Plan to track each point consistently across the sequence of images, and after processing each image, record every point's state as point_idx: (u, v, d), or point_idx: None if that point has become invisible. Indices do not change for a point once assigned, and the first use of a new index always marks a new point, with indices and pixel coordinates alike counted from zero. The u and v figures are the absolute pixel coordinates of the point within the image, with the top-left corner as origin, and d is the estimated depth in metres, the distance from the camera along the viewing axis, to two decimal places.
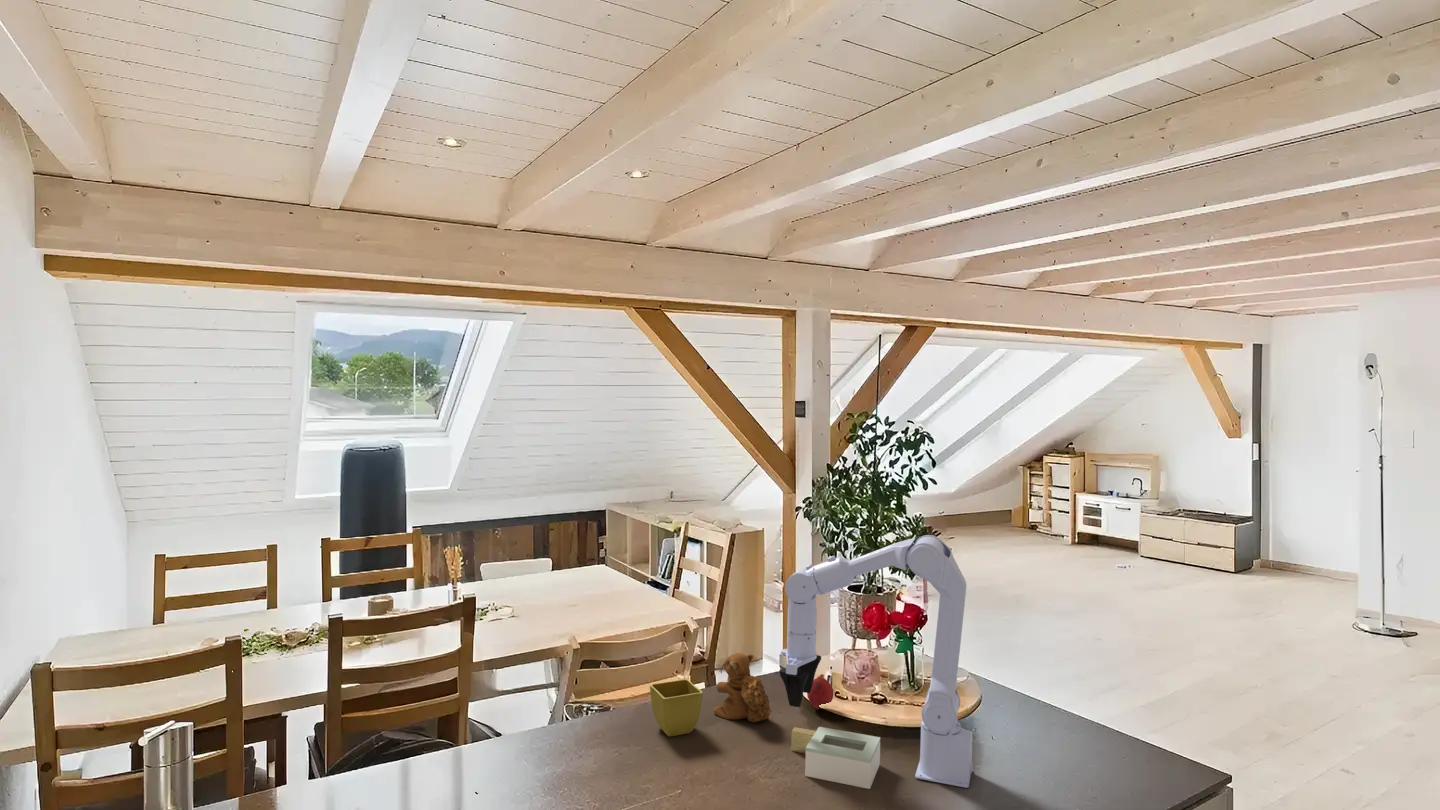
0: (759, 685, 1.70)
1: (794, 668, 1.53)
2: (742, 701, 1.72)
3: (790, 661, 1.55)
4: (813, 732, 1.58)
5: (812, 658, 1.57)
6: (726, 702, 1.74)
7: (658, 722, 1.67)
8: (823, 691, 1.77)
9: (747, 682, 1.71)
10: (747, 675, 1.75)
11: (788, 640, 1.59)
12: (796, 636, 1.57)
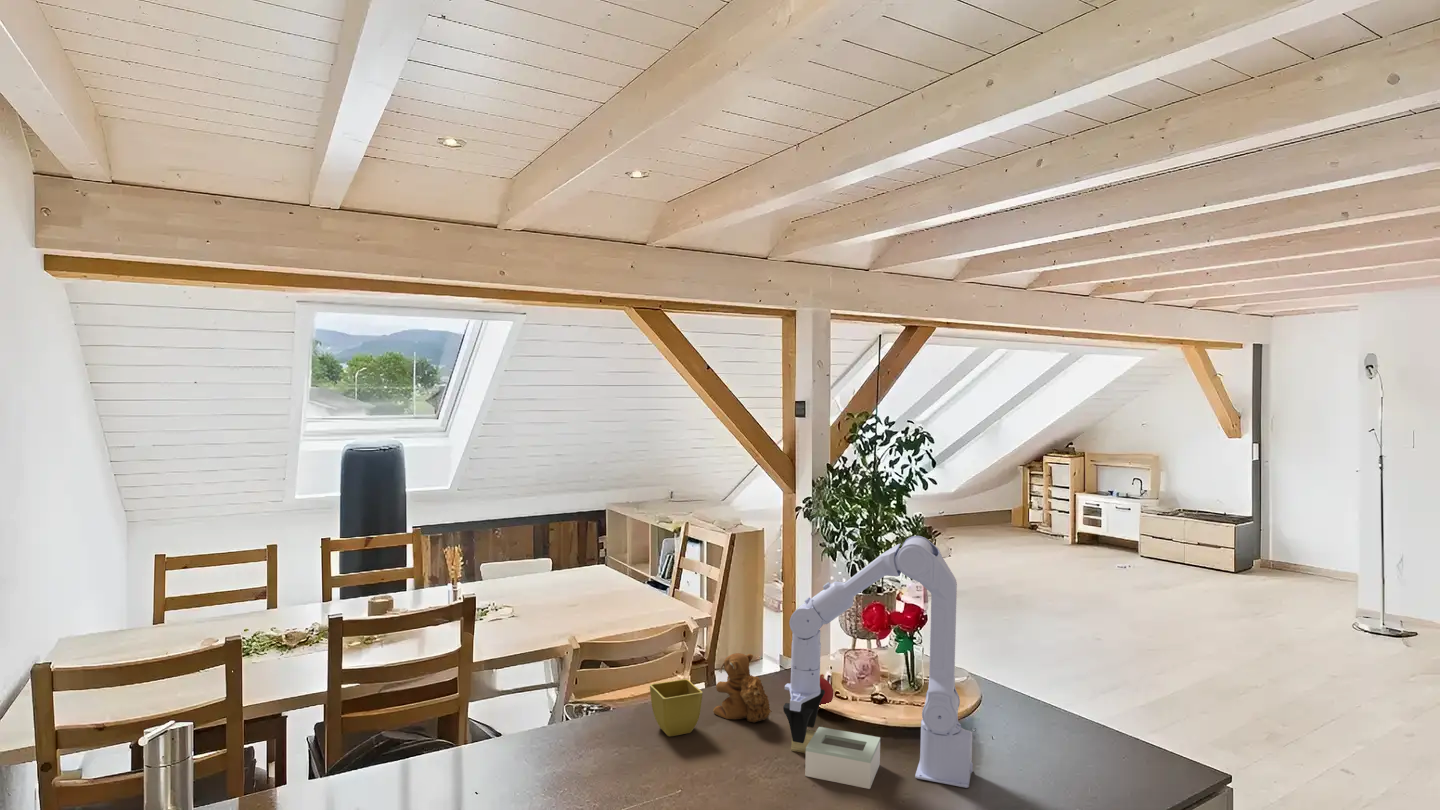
0: (758, 685, 1.70)
1: (798, 705, 1.52)
2: (742, 701, 1.72)
3: (794, 697, 1.55)
4: (813, 732, 1.58)
5: (816, 694, 1.56)
6: (726, 702, 1.75)
7: (658, 722, 1.67)
8: None
9: (747, 682, 1.71)
10: (747, 675, 1.75)
11: (791, 675, 1.58)
12: (800, 671, 1.56)
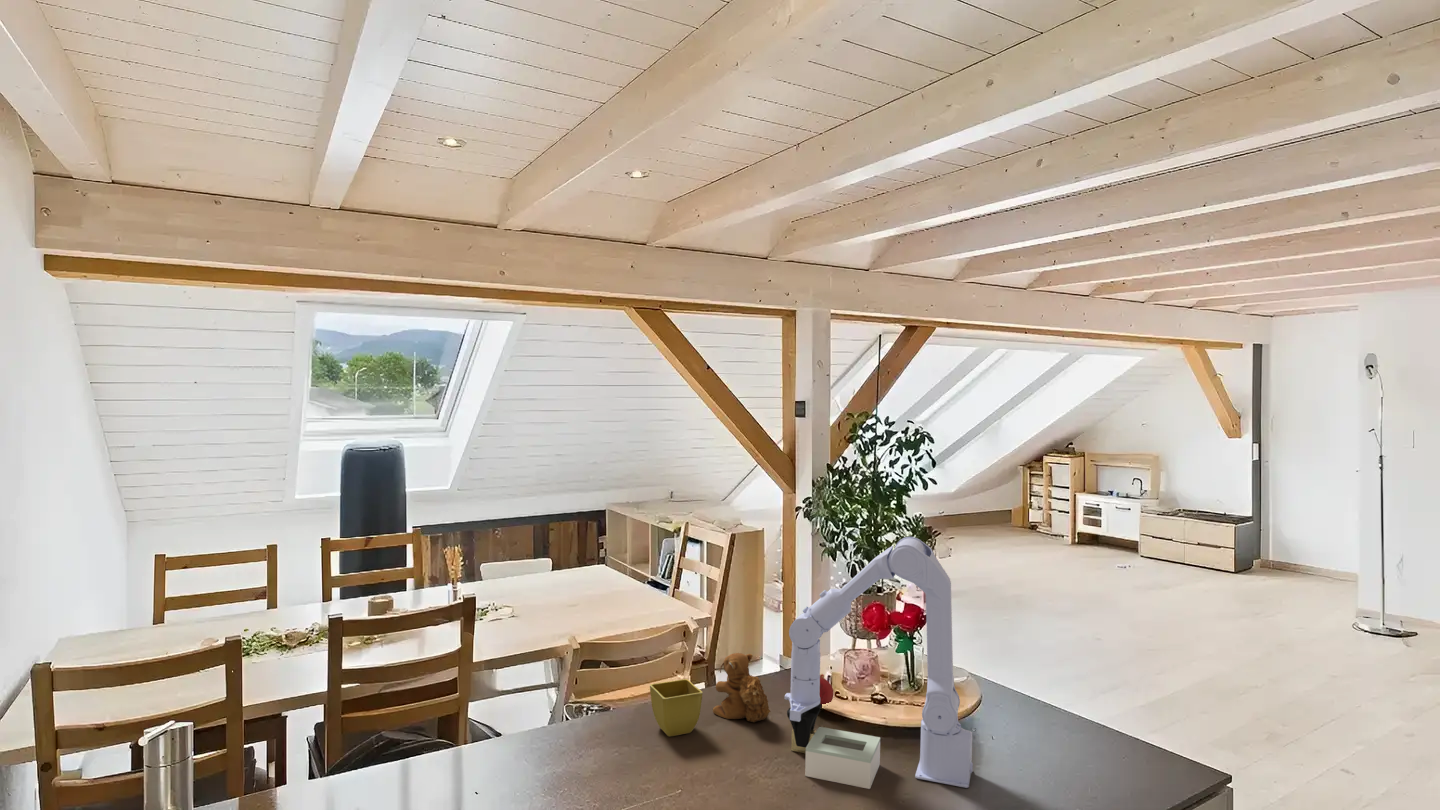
0: (758, 685, 1.70)
1: (798, 715, 1.52)
2: (741, 701, 1.73)
3: (794, 707, 1.55)
4: (813, 732, 1.58)
5: (816, 703, 1.56)
6: (725, 702, 1.75)
7: (658, 722, 1.67)
8: (823, 691, 1.77)
9: (746, 682, 1.71)
10: (746, 675, 1.75)
11: (791, 685, 1.58)
12: (800, 681, 1.56)
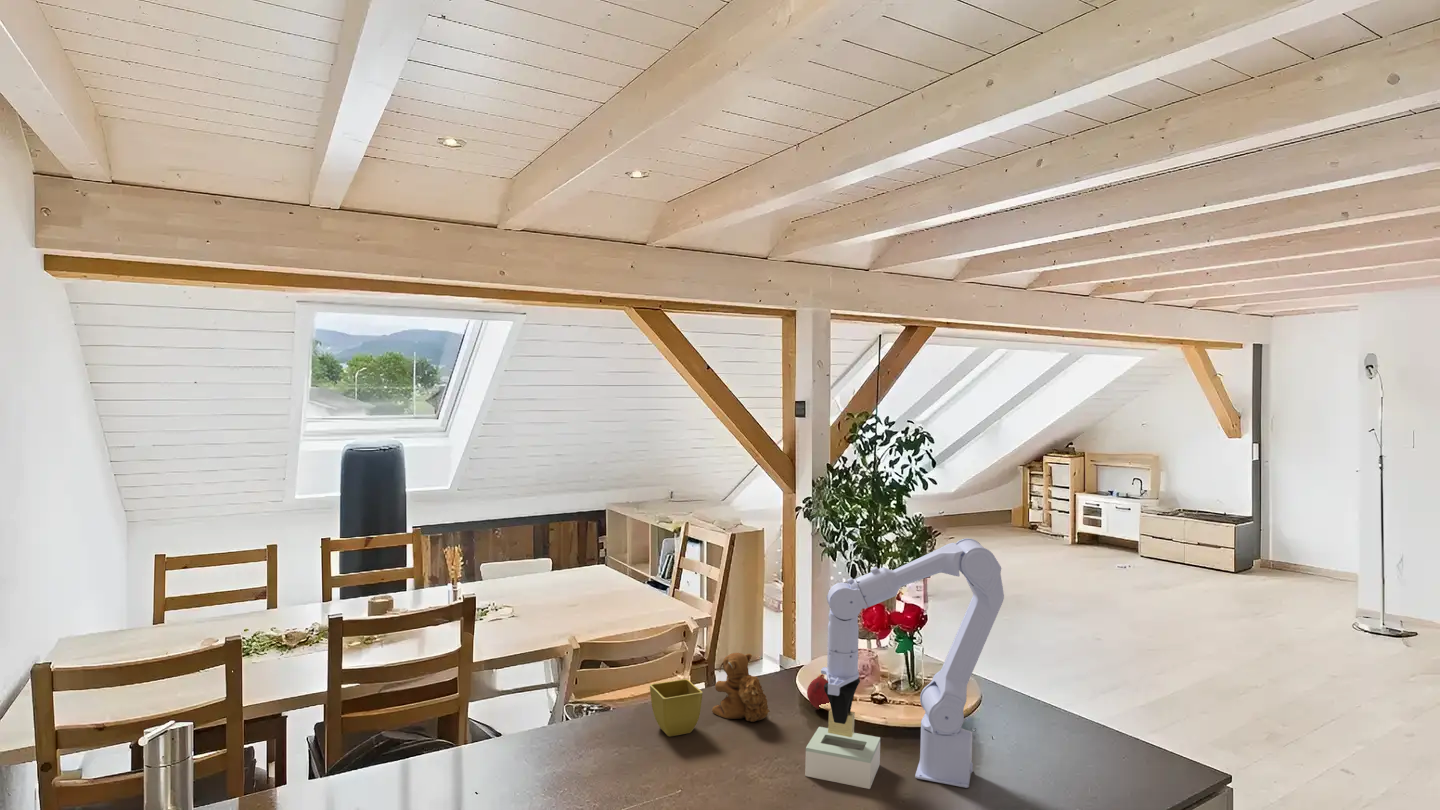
0: (756, 684, 1.70)
1: (836, 688, 1.44)
2: (740, 700, 1.73)
3: (832, 681, 1.47)
4: (851, 713, 1.51)
5: (854, 677, 1.49)
6: (724, 701, 1.75)
7: (658, 722, 1.67)
8: (823, 691, 1.77)
9: (745, 681, 1.71)
10: (745, 674, 1.75)
11: (828, 658, 1.51)
12: (837, 654, 1.49)
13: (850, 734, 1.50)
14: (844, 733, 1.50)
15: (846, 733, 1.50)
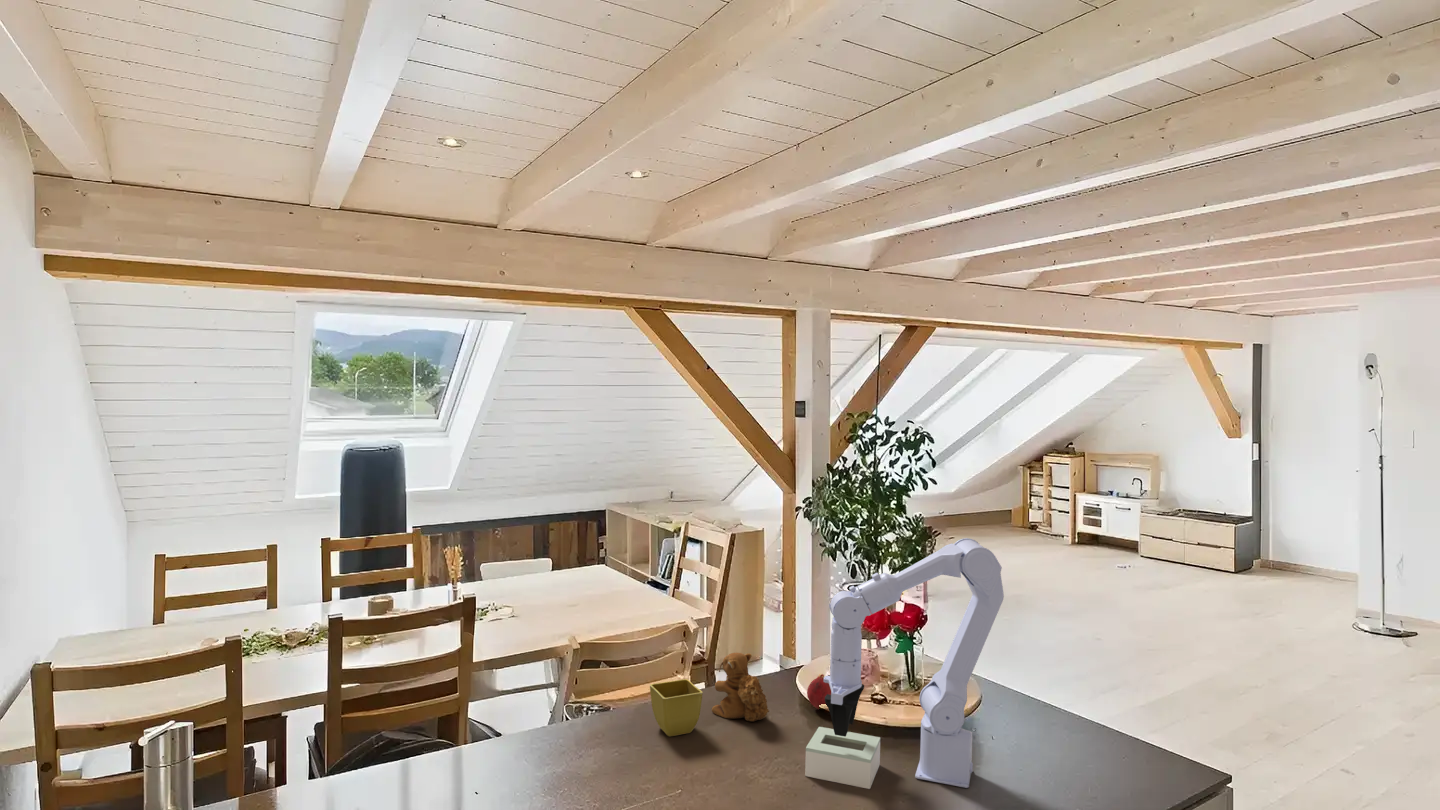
0: (756, 684, 1.70)
1: (840, 698, 1.44)
2: (739, 700, 1.73)
3: (835, 690, 1.47)
4: None
5: (857, 686, 1.48)
6: (724, 701, 1.75)
7: (658, 722, 1.67)
8: (823, 691, 1.77)
9: (744, 681, 1.72)
10: (745, 674, 1.75)
11: (831, 667, 1.50)
12: (841, 663, 1.48)
13: None
14: None
15: None
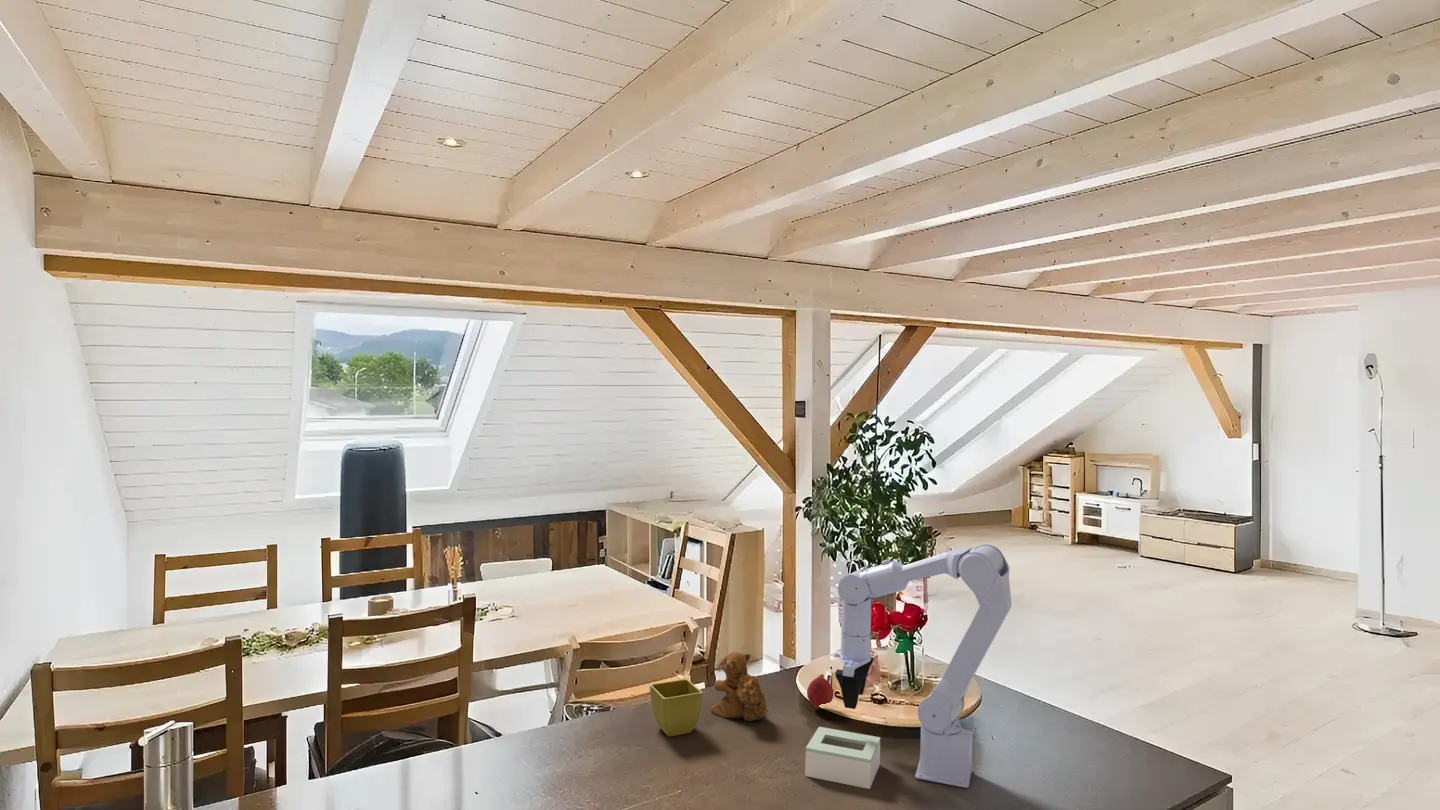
0: (755, 684, 1.70)
1: (851, 670, 1.52)
2: (738, 700, 1.73)
3: (846, 663, 1.55)
4: None
5: (867, 660, 1.57)
6: (723, 700, 1.75)
7: (658, 722, 1.67)
8: (823, 691, 1.77)
9: (743, 681, 1.72)
10: (744, 674, 1.75)
11: (842, 642, 1.58)
12: (851, 638, 1.57)
13: None
14: None
15: None
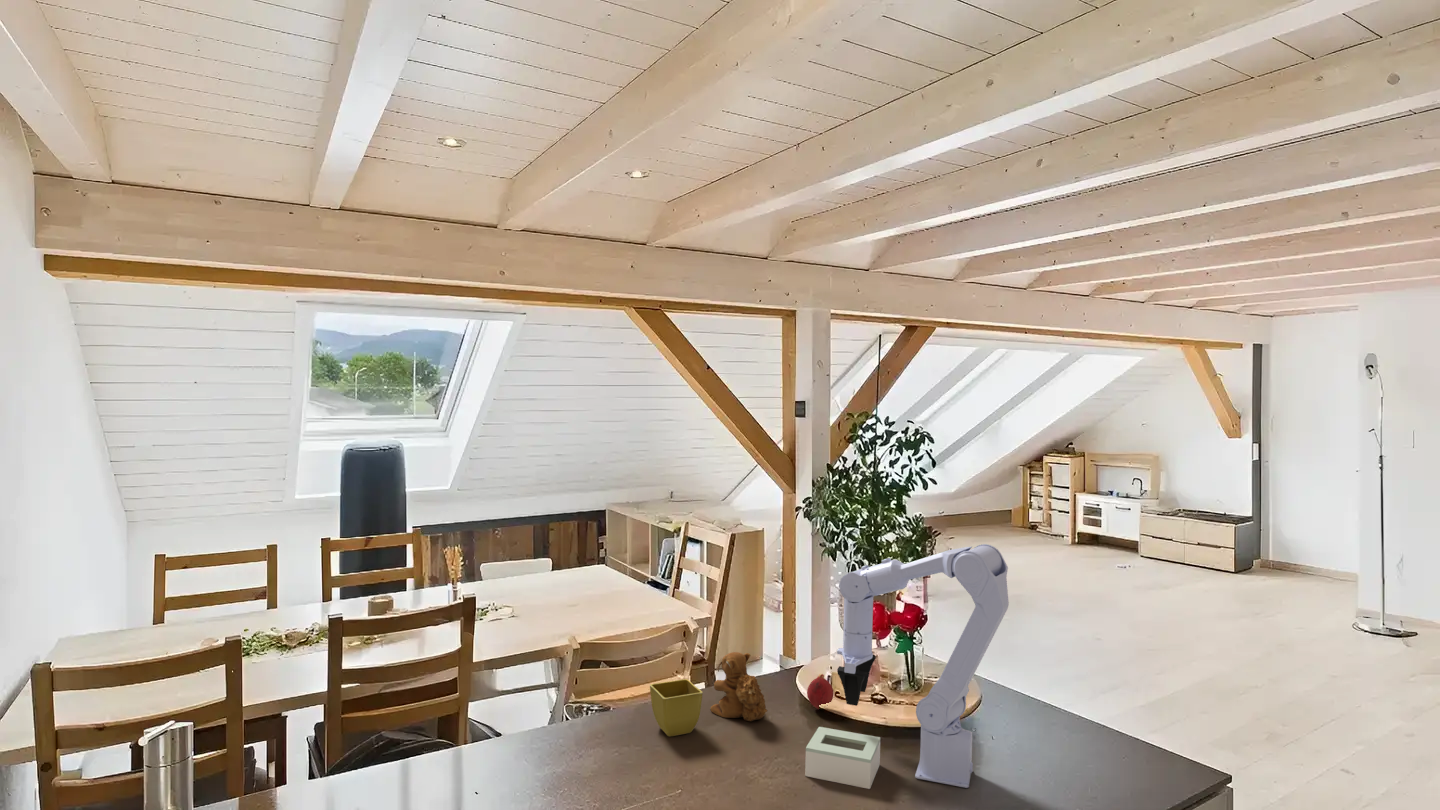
0: (754, 684, 1.70)
1: (853, 667, 1.54)
2: (738, 700, 1.73)
3: (848, 660, 1.57)
4: None
5: (869, 657, 1.59)
6: (722, 700, 1.75)
7: (658, 722, 1.67)
8: (823, 691, 1.77)
9: (742, 681, 1.72)
10: (743, 674, 1.75)
11: (844, 639, 1.60)
12: (853, 635, 1.58)
13: None
14: None
15: None
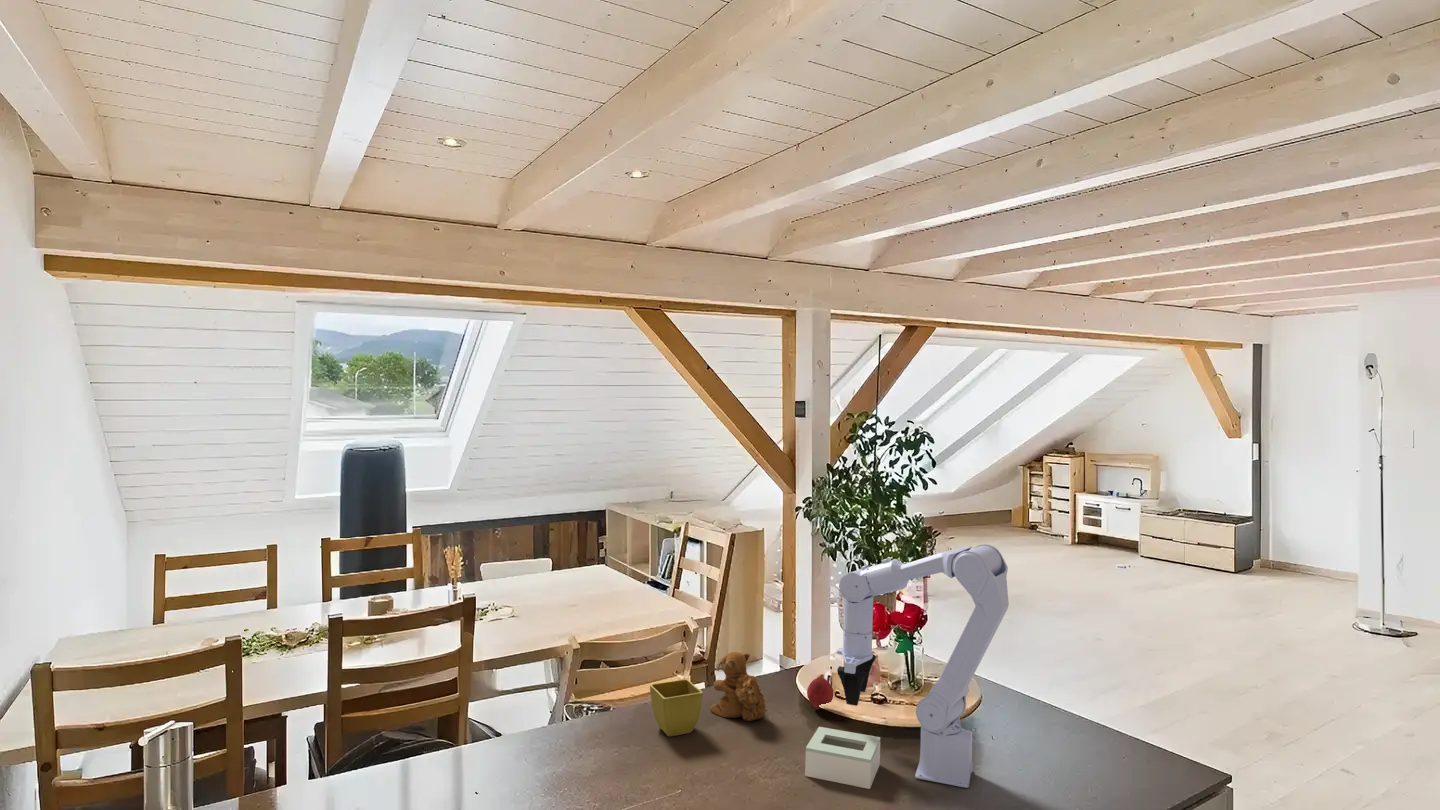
0: (753, 684, 1.70)
1: (853, 667, 1.54)
2: (737, 699, 1.73)
3: (848, 660, 1.57)
4: None
5: (869, 657, 1.59)
6: (722, 700, 1.75)
7: (658, 722, 1.67)
8: (823, 691, 1.77)
9: (742, 681, 1.72)
10: (743, 674, 1.75)
11: (844, 639, 1.60)
12: (853, 635, 1.58)
13: None
14: None
15: None
